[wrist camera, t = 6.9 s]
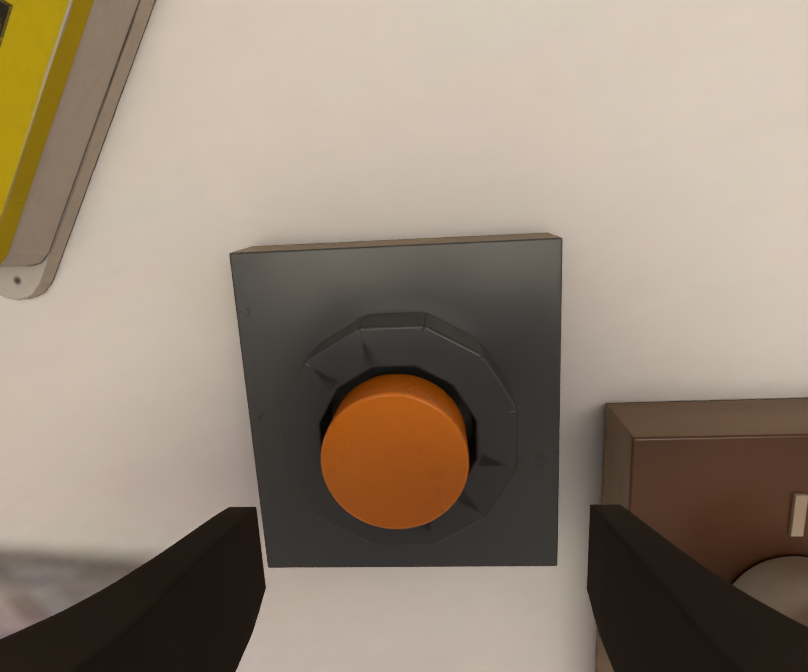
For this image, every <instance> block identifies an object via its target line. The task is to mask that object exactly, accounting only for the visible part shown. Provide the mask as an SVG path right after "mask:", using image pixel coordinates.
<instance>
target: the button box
mask: <svg viewBox="0 0 808 672" xmlns="http://www.w3.org/2000/svg"><path fill="white" fill-rule="evenodd" d="M230 263H231V271H232V279H233V287H234V295H235V303H236V311H237V319H238V327H239V336H240V344H241V352H242V360H243V368H244V376H245V384H246V392H247V400H248V408H249V417H250V425H251V433H252V441H253V449H254V457H255V465H256V473H257V481H258V489H259V497H260V506H261V514H262V522H263V530H264V538H265V546H266V554H267V562H268V567H269V568H284V567H452V566H557V551H558V488H559V425H560V362H561V299H562V238H560V237H558V236H555V235H552V234H549V233H531V234H510V235H488V236H467V237H445V238H424V239H402V240H381V241H360V242H338V243H317V244H295V245H274V246H253V247H249V248H246V249H242V250H239V251H235V252H232V253H230ZM385 374H408V375H414V376H417V377H421V378H423V379H426V380H428V381H430V382H432V383H434V384H435V385H437V386H438V387H440V388H441V389H442V390H444V391H445V392H446V393H447V394H448V395H449V396H450V397H451V398H452V400H453V401H454V402H455V404H456V405H457V407H458V409H459V410H460V412H461V414H462V417H463V420H464V423H465V427H466V435H467V444H468V453H469V472H468V477H467V481H466V484H465V486H464V489H463V491H462V493H461V494H460V496H459V497H458V499H457V500H456V502H455V503H454V504H453V505H452V506H451V507H450V508H449V509H448V510H447V511H446V512H445V513H444V514H442V515H441V516H439V517H438V518H436V519H435V520H433V521H431V522H428V523H426V524H424V525H420V526H417V527H413V528H407V529H387V528H381V527H377V526H374V525H370V524H368V523H365V522H363V521H361V520H359V519H357V518H356V517H354V516H353V515H351V514H350V513H348V512H347V511H346V510H345V509H344V508H343V507H342V506H341V505H339V503H338V502H337V501H336V500H335V498H334V497H333V496H332V494H331V492H330V491H329V489H328V487H327V485H326V483H325V480H324V477H323V474H322V468H321V447H322V443H323V439H324V436H325V434H326V432H327V429H328V427H329V425H330V423H331V421H332V419H333V417H334V414H335V412H336V410H337V408H338V406H339V405H340V403H341V401H342V400H343V399H344V398H345V396H346V395H347V394H348V393H349V392H350V391H351V390H352V389H353V388H355V387H356V386H358V385H359V384H361V383H362V382H364V381H366V380H368V379H371V378H374V377H376V376H381V375H385Z"/></svg>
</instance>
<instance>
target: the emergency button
mask: <svg viewBox="0 0 808 672" xmlns="http://www.w3.org/2000/svg"><path fill="white" fill-rule="evenodd" d="M154 2H155V0H0V295H1V296H3V297H5V298H9V299H14V300H23V299H28V298H33V297H35V296H37V295H40V294H42V293H45V291H46V290H47V288H48V287H49V285H50V284H51V283H52V281H53V279H54V276H55V273H56V271H57V268H58V265H59V262H60V260H61V257H62V254H63V251H64V249H65V246H66V243H67V240H68V238H69V235H70V232H71V230H72V227H73V224H74V221H75V219H76V216H77V213H78V210H79V208H80V205H81V202H82V199H83V197H84V194H85V191H86V188H87V186H88V183H89V180H90V177H91V175H92V172H93V169H94V166H95V164H96V161H97V158H98V156H99V153H100V150H101V147H102V145H103V142H104V139H105V136H106V134H107V131H108V128H109V125H110V123H111V120H112V117H113V114H114V112H115V109H116V106H117V103H118V101H119V98H120V95H121V93H122V90H123V87H124V84H125V82H126V79H127V76H128V73H129V71H130V68H131V65H132V62H133V60H134V57H135V54H136V51H137V49H138V46H139V43H140V40H141V38H142V35H143V32H144V29H145V27H146V24H147V21H148V19H149V16H150V13H151V10H152V8H153V5H154Z"/></svg>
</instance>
